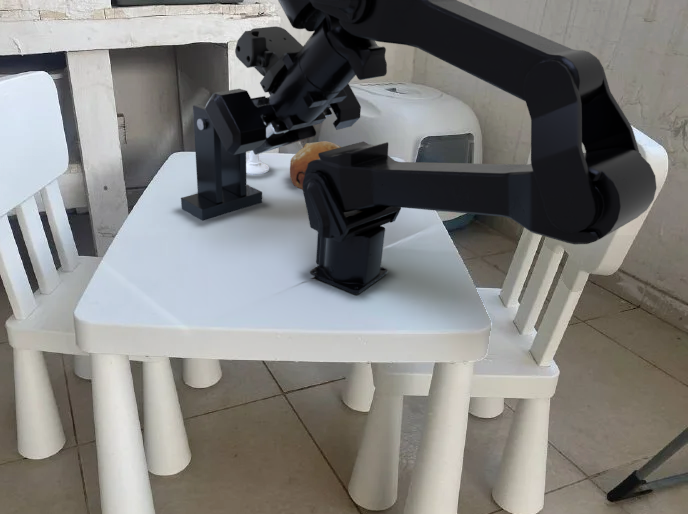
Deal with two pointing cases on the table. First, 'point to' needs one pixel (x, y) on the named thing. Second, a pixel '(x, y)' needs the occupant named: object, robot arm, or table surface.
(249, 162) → the chess piece
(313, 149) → the bread roll
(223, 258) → the table surface
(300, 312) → the table surface
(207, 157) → the stand
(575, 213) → the robot arm
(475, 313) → the table surface
